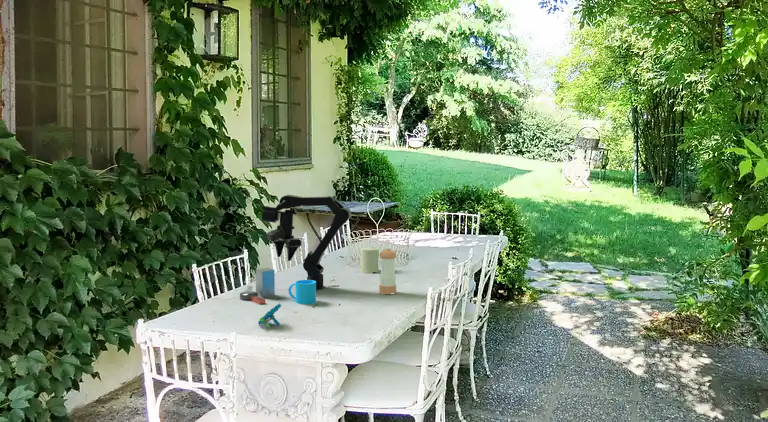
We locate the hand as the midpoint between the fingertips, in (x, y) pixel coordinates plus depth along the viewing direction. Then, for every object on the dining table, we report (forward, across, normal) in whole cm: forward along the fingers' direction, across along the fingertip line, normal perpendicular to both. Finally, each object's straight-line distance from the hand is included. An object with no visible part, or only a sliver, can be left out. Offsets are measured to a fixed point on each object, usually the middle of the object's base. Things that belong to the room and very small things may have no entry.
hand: (284, 258), depth 283 cm
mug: (+12, +27, -6) cm, 31 cm away
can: (+11, -7, +52) cm, 54 cm away
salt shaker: (+10, +36, +31) cm, 48 cm away
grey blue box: (+13, +11, -14) cm, 22 cm away
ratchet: (+13, +15, -21) cm, 29 cm away
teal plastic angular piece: (+12, +51, -33) cm, 61 cm away
